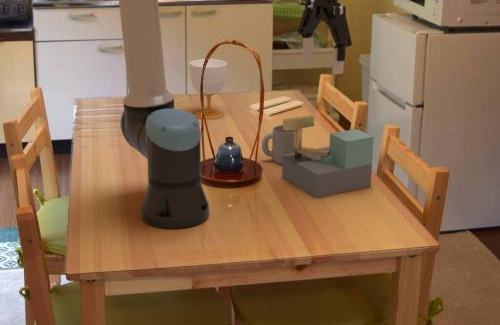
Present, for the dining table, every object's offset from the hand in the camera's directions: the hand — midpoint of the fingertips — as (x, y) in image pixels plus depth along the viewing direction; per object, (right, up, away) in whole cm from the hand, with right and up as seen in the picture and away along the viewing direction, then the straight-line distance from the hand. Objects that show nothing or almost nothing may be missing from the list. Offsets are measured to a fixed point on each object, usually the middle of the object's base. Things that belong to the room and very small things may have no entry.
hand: (322, 68), depth 205 cm
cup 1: (-31, -9, +54) cm, 63 cm away
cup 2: (-10, -24, +14) cm, 29 cm away
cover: (+5, -24, -6) cm, 25 cm away
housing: (+1, -29, -1) cm, 29 cm away
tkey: (-4, -23, -5) cm, 24 cm away
